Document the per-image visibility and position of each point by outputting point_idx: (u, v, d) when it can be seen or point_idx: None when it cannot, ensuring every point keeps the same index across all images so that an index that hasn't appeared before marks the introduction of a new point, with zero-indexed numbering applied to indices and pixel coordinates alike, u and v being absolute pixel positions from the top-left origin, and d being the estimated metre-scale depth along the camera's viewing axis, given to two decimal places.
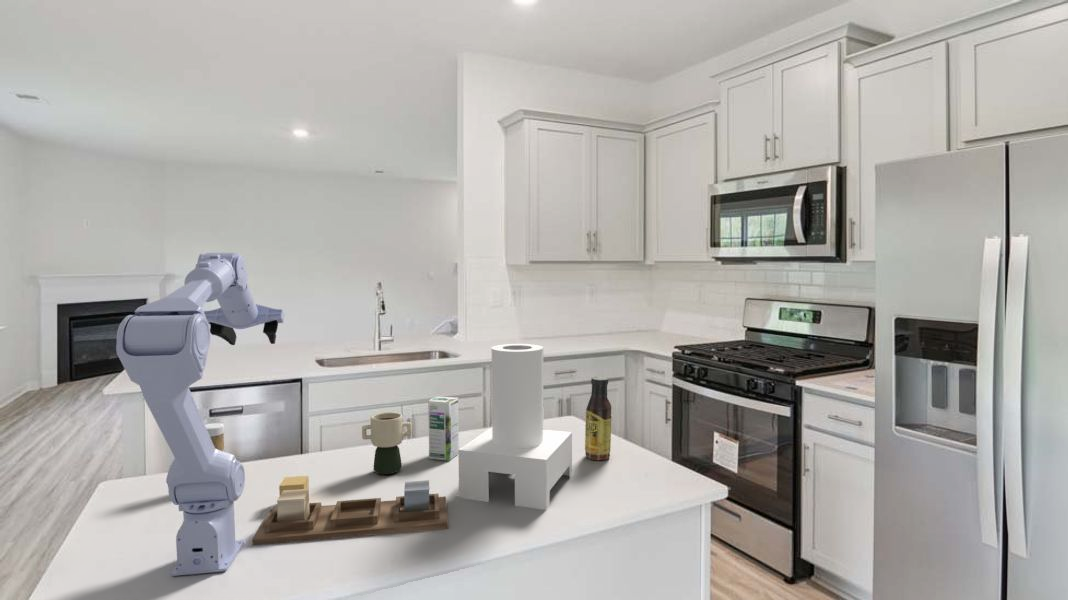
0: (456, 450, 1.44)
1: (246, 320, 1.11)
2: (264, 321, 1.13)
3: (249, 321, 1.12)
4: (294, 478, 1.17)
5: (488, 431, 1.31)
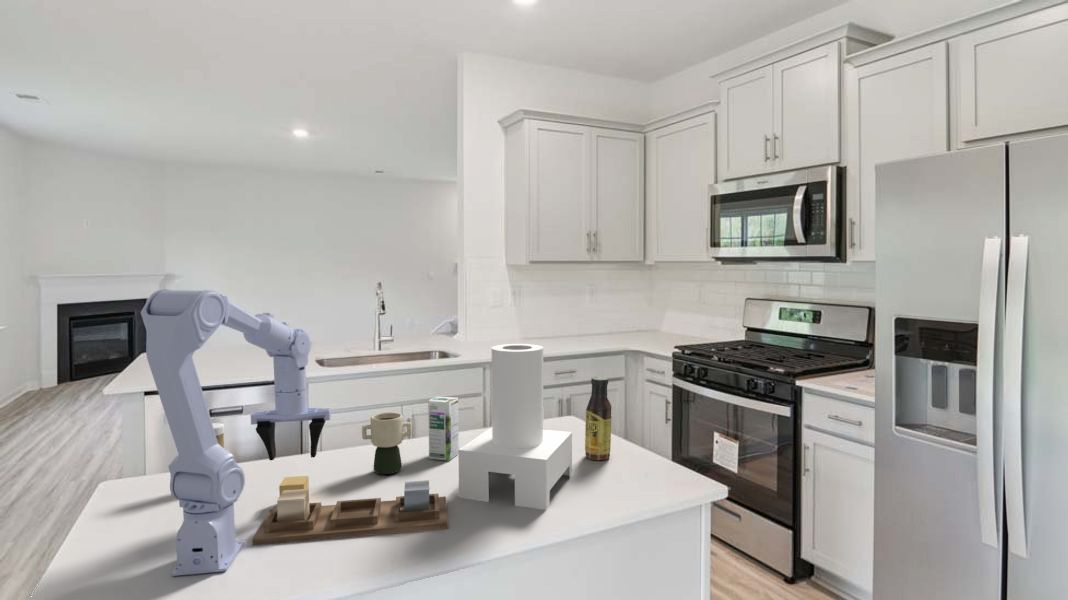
0: (456, 450, 1.44)
1: (296, 408, 1.12)
2: (312, 413, 1.14)
3: (298, 411, 1.13)
4: (294, 478, 1.17)
5: (488, 431, 1.31)
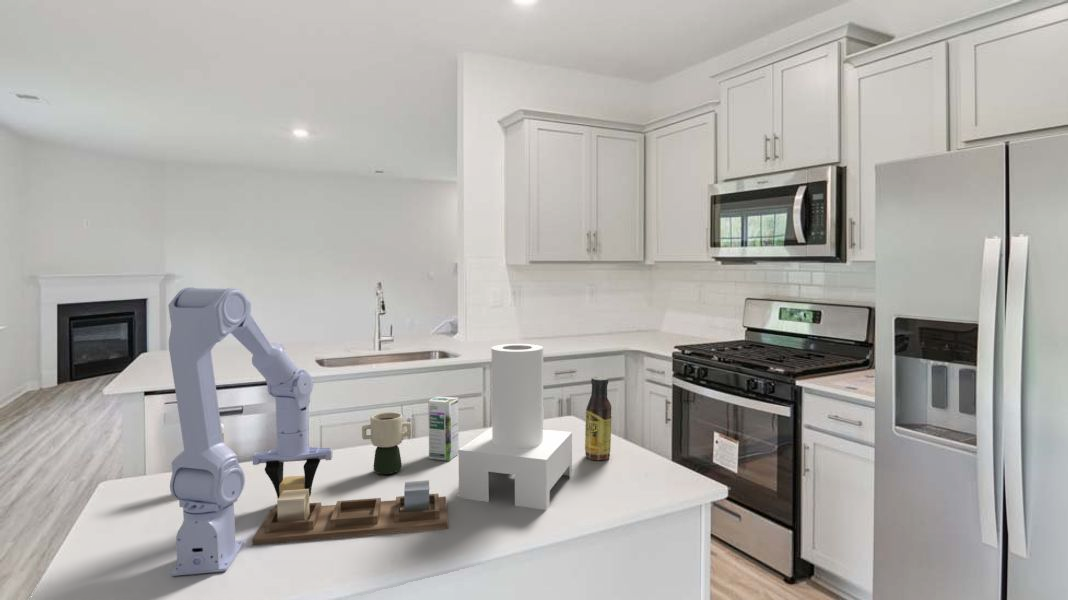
0: (456, 450, 1.44)
1: (298, 448, 1.13)
2: (314, 454, 1.14)
3: (300, 451, 1.13)
4: (294, 478, 1.17)
5: (488, 431, 1.31)
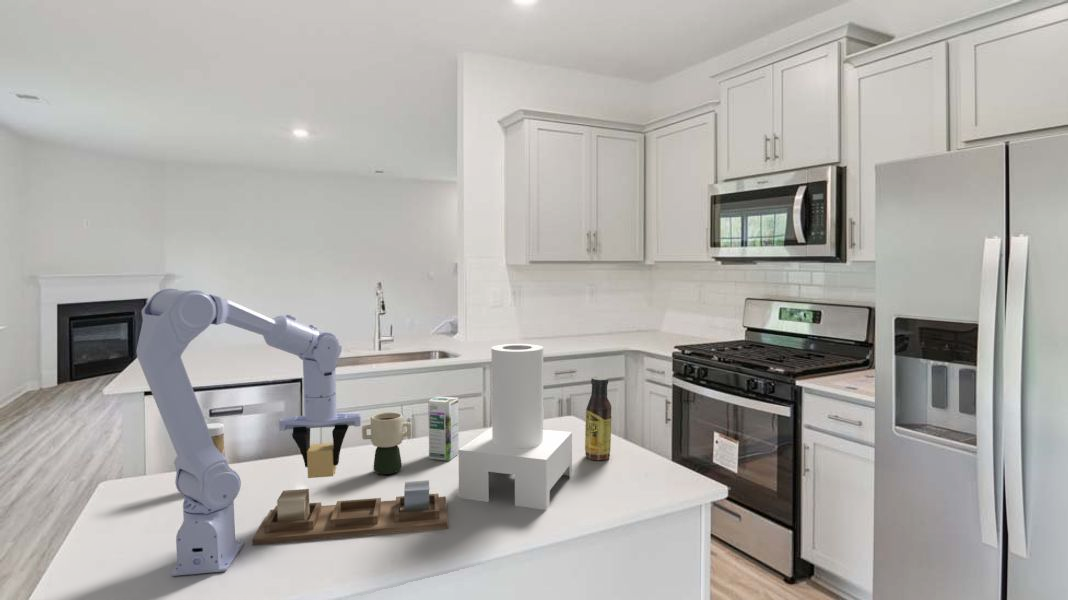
0: (456, 450, 1.44)
1: (326, 413, 1.09)
2: (342, 419, 1.10)
3: (328, 416, 1.09)
4: (321, 445, 1.12)
5: (488, 431, 1.31)
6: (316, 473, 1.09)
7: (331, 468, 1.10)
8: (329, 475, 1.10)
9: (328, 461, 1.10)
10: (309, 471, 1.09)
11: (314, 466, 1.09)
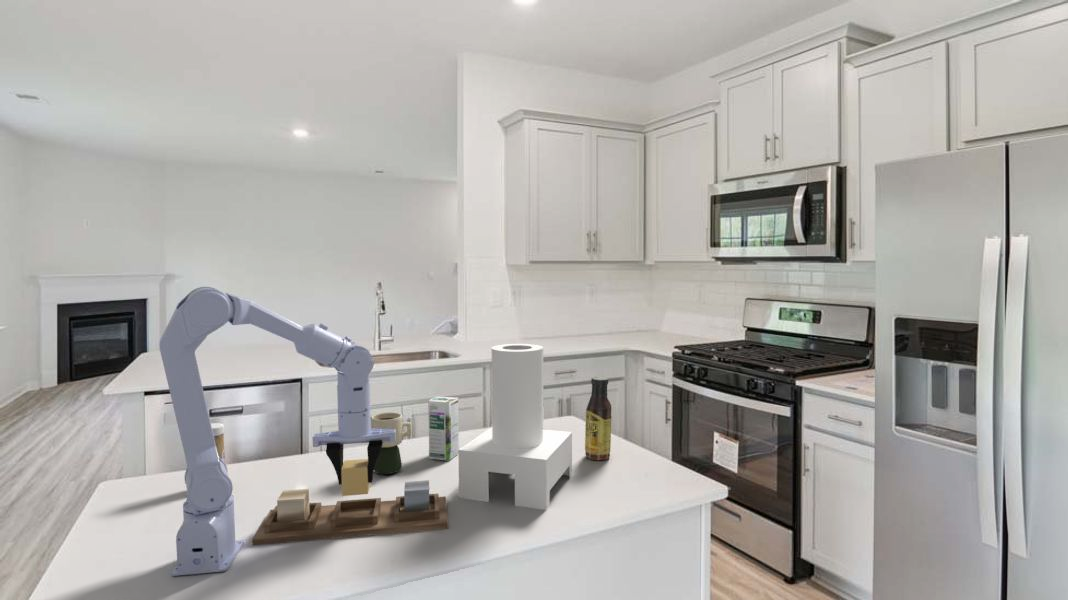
0: (456, 450, 1.44)
1: (361, 429, 1.05)
2: (377, 435, 1.06)
3: (363, 432, 1.05)
4: (355, 461, 1.09)
5: (488, 431, 1.31)
6: (350, 491, 1.06)
7: (366, 485, 1.06)
8: (364, 493, 1.06)
9: (362, 479, 1.06)
10: (343, 489, 1.05)
11: (348, 483, 1.05)
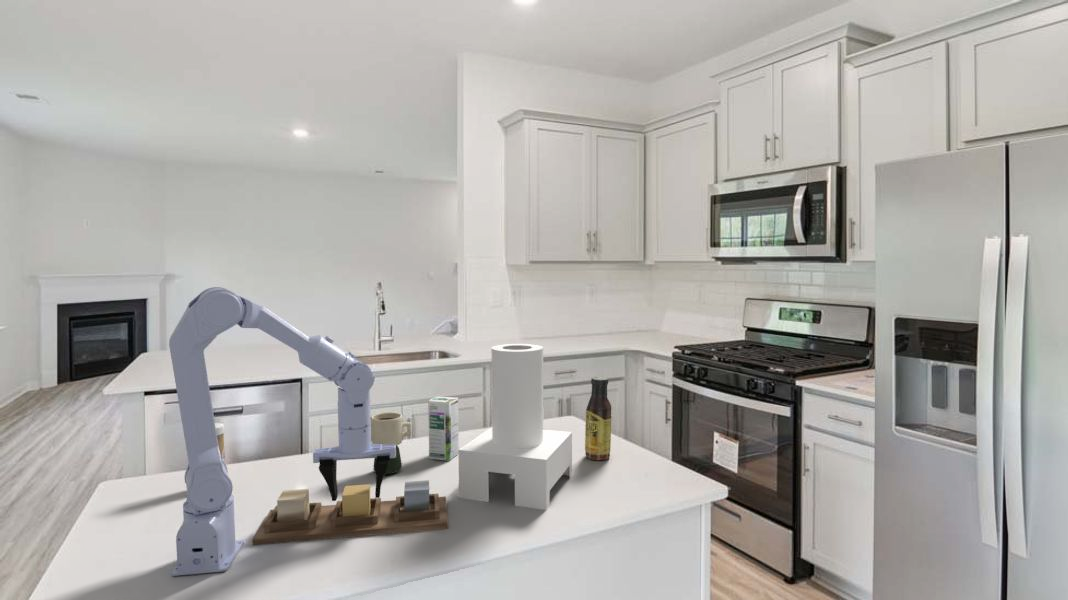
0: (456, 450, 1.44)
1: (361, 445, 1.05)
2: (378, 451, 1.06)
3: (363, 448, 1.05)
4: (356, 487, 1.09)
5: (488, 431, 1.31)
6: None
7: (366, 512, 1.06)
8: None
9: (363, 505, 1.06)
10: (344, 515, 1.06)
11: (349, 510, 1.06)
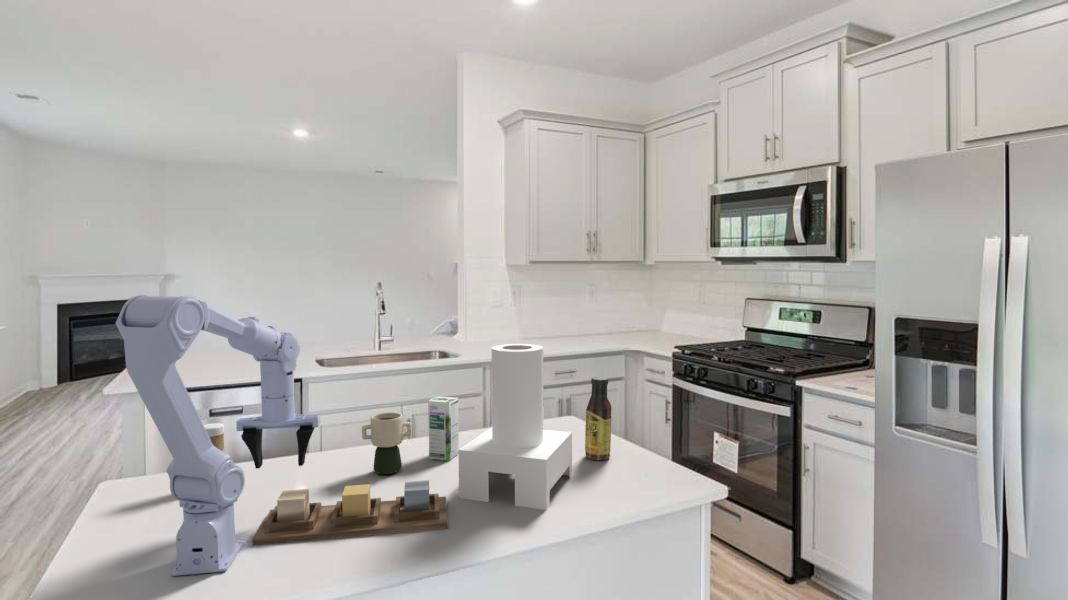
0: (456, 450, 1.44)
1: (283, 414, 1.08)
2: (300, 420, 1.10)
3: (285, 417, 1.09)
4: (356, 487, 1.09)
5: (488, 431, 1.31)
6: None
7: (366, 512, 1.06)
8: None
9: (363, 505, 1.06)
10: (344, 515, 1.06)
11: (349, 510, 1.06)
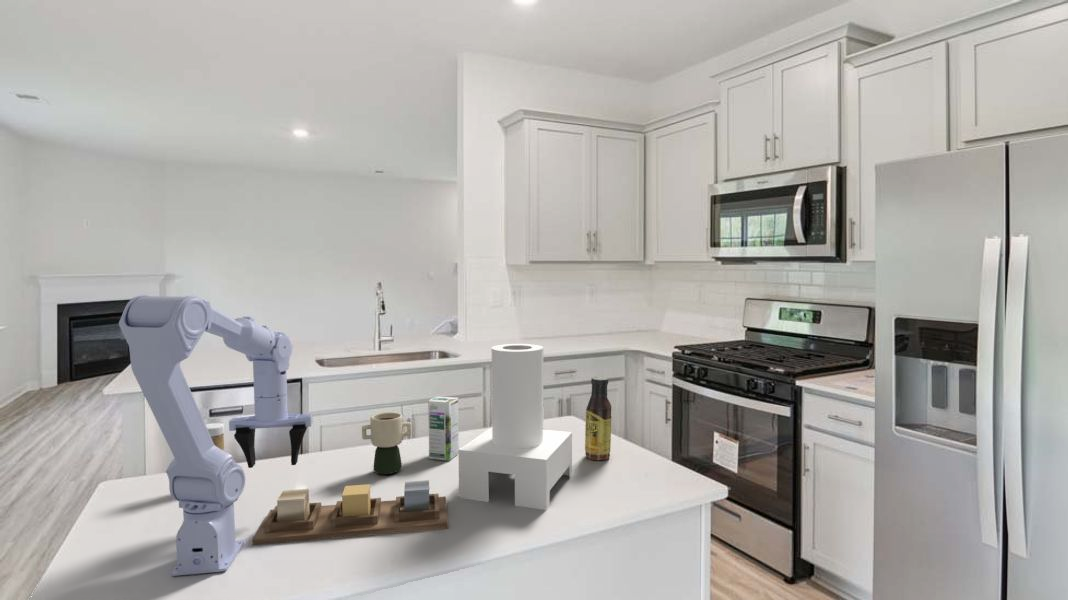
0: (456, 450, 1.44)
1: (276, 413, 1.09)
2: (293, 420, 1.10)
3: (278, 417, 1.09)
4: (356, 487, 1.09)
5: (488, 431, 1.31)
6: None
7: (366, 512, 1.06)
8: None
9: (363, 505, 1.06)
10: (344, 515, 1.06)
11: (349, 510, 1.06)
